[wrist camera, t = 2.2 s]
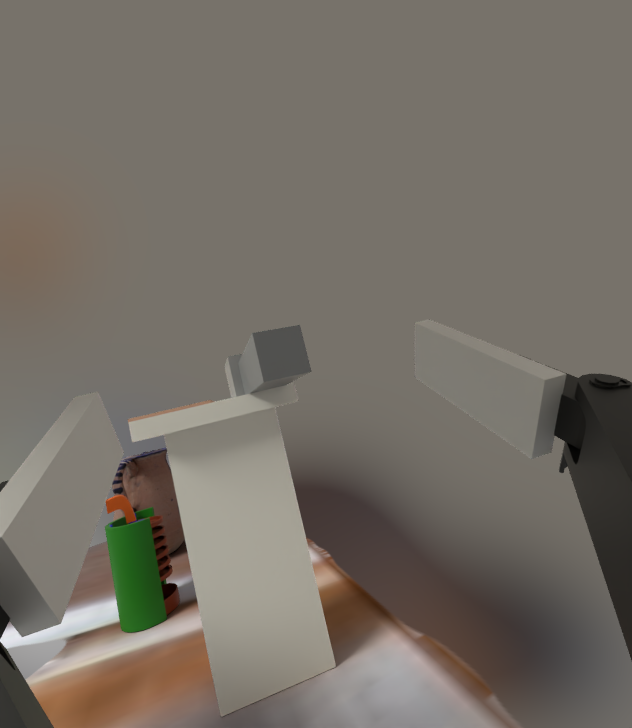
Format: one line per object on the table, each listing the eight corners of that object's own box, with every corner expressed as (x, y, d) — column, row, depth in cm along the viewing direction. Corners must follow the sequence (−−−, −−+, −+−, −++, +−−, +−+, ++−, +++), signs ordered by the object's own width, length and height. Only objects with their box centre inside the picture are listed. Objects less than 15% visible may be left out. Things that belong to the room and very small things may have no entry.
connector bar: (251, 385, 26) (236, 323, 27) (232, 402, 47) (224, 367, 47) (322, 369, 28) (308, 311, 29) (274, 392, 49) (266, 359, 49)
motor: (187, 607, 55) (163, 484, 57) (126, 642, 50) (101, 505, 52) (171, 589, 63) (150, 482, 65) (117, 618, 58) (96, 499, 60)
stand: (190, 748, 31) (127, 419, 34) (207, 656, 42) (159, 418, 45) (364, 670, 34) (293, 380, 37) (335, 606, 46) (283, 388, 49)
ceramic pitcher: (201, 530, 94) (183, 441, 97) (186, 563, 74) (163, 449, 76) (134, 551, 91) (117, 458, 93) (98, 592, 70) (77, 471, 73)
